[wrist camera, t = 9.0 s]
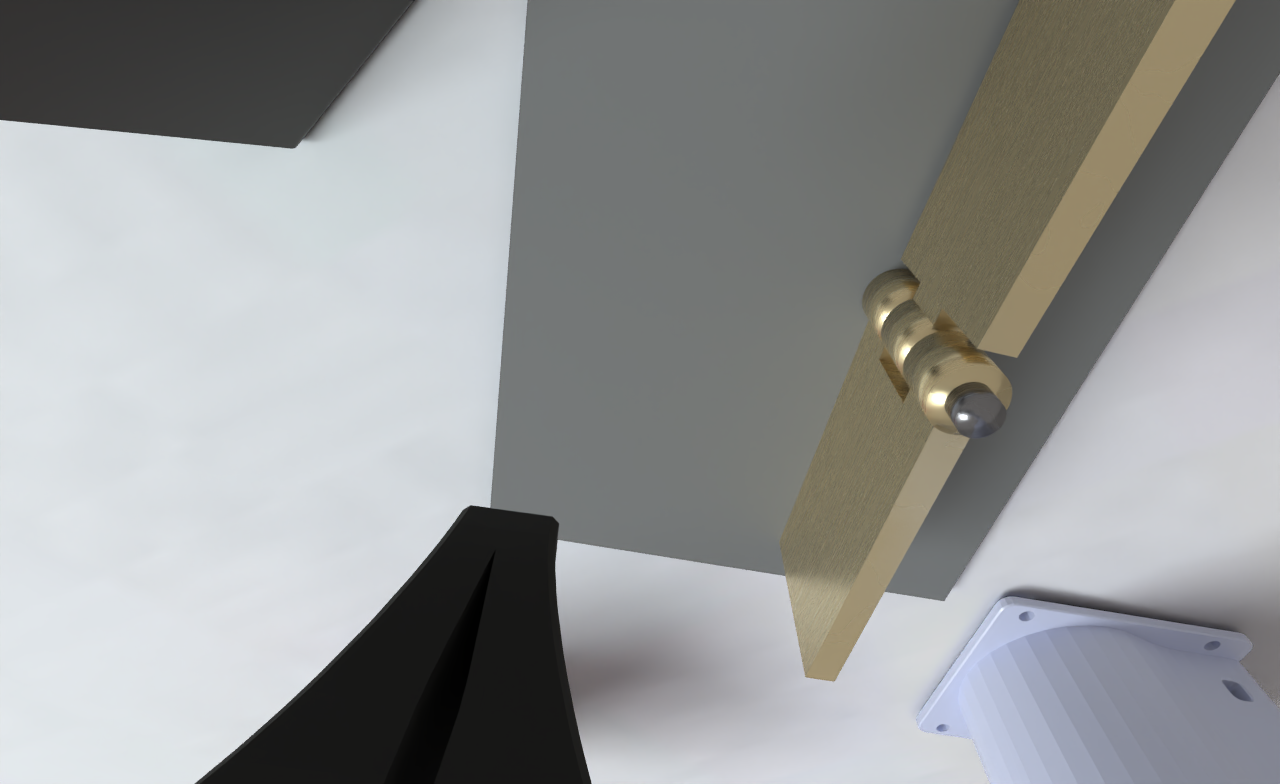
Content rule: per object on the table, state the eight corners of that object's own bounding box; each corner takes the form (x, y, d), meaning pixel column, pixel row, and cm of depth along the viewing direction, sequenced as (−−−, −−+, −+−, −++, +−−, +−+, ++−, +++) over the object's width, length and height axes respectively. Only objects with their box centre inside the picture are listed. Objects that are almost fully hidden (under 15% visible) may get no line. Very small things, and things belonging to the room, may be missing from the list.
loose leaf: (912, 336, 17) (986, 442, 13) (855, 323, 17) (911, 426, 13) (1145, -125, 12) (1382, -183, 8) (1064, -149, 12) (1264, -219, 8)
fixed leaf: (875, 263, 16) (958, 375, 12) (936, 275, 16) (1042, 390, 12) (767, 540, 22) (794, 695, 17) (814, 547, 22) (854, 704, 17)
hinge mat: (1408, -166, 12) (1434, -172, 12) (939, 590, 23) (944, 601, 23) (560, -370, 11) (555, -385, 11) (492, 518, 22) (488, 528, 22)
